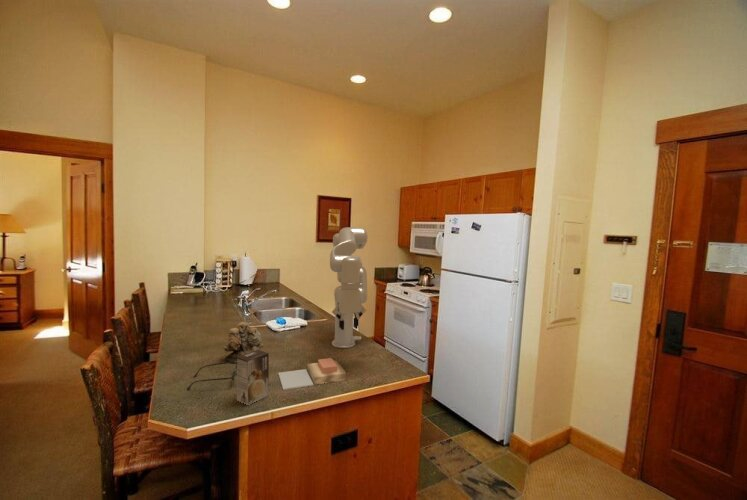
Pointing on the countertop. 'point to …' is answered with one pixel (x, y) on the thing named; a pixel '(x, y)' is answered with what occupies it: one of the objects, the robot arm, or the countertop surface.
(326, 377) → the plate
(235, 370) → the sunglasses
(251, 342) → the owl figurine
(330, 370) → the salmon pink rectangular block
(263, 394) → the coffee box
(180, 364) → the countertop surface
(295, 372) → the mat
